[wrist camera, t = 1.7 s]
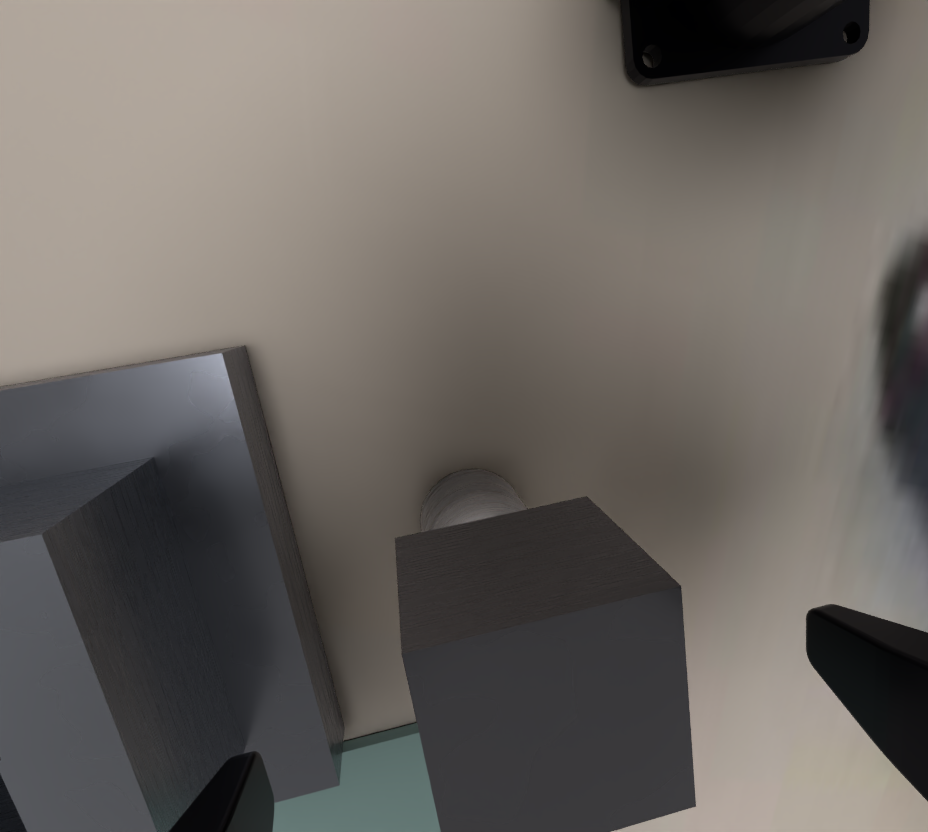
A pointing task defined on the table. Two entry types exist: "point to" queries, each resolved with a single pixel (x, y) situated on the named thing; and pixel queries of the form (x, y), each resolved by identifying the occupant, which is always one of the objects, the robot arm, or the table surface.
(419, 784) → the rest mat
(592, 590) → the square headed peg
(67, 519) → the block
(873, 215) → the table surface
